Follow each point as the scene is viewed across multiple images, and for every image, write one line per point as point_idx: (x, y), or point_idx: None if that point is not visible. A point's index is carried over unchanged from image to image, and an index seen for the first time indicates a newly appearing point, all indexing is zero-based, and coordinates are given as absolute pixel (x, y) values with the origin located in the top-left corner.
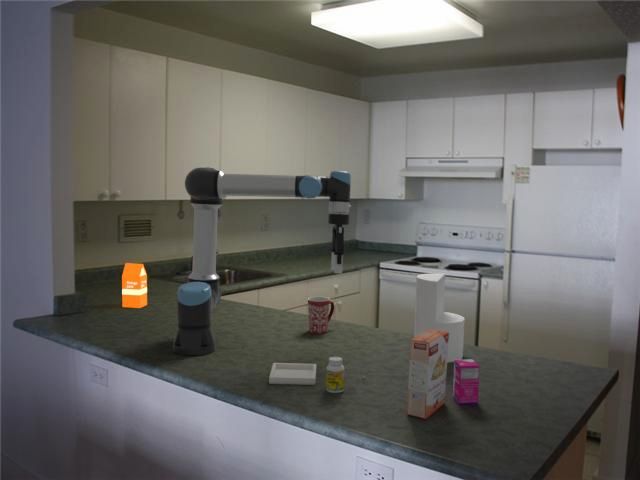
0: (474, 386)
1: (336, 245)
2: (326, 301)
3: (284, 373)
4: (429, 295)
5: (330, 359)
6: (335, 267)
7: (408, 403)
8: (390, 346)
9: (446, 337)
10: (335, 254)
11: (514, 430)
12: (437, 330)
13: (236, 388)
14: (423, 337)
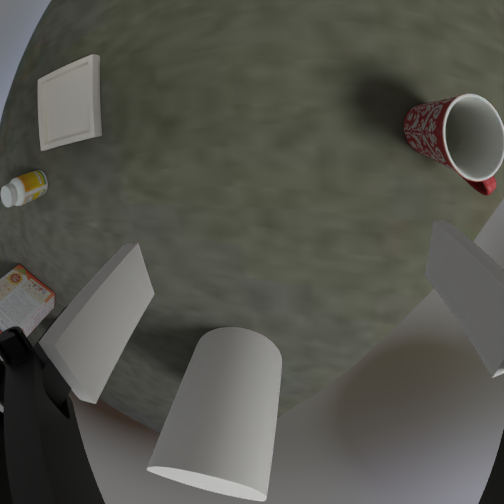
0: None
1: (9, 446)
2: (450, 162)
3: (71, 87)
4: (160, 438)
5: (2, 189)
6: (104, 271)
7: (11, 270)
8: (289, 295)
9: None
10: (16, 341)
11: (39, 337)
12: None
13: (33, 47)
14: None
